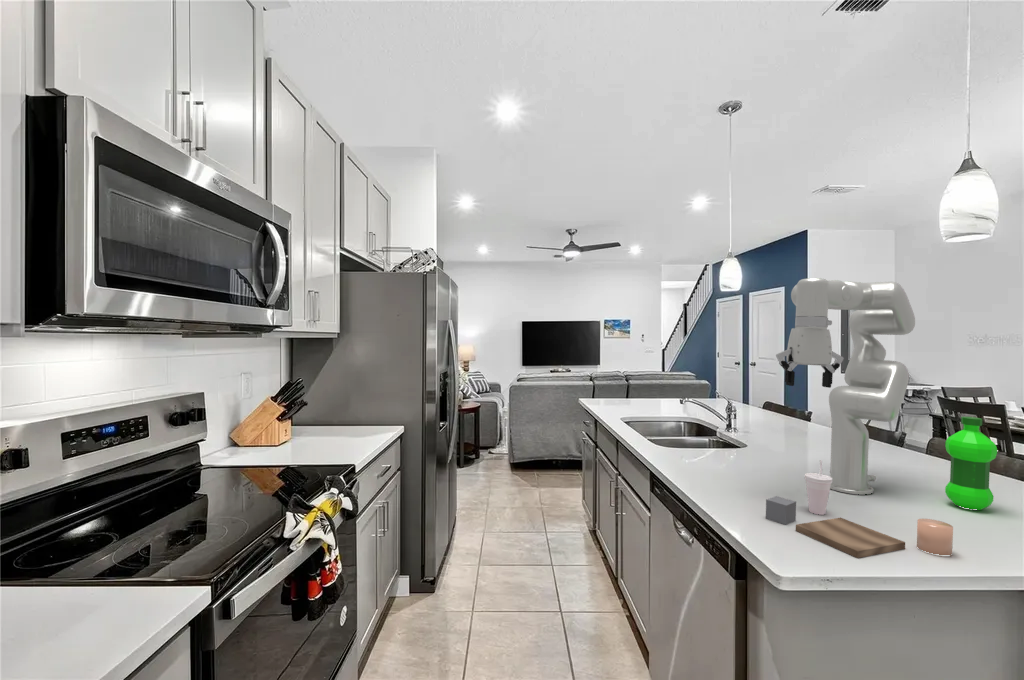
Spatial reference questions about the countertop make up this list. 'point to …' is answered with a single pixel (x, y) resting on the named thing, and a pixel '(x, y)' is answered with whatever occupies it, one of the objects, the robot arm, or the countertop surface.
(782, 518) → the rubber block
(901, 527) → the countertop surface
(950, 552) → the peach rounded cylinder
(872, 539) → the walnut board
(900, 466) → the countertop surface
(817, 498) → the smoothie
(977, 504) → the plastic bottle
